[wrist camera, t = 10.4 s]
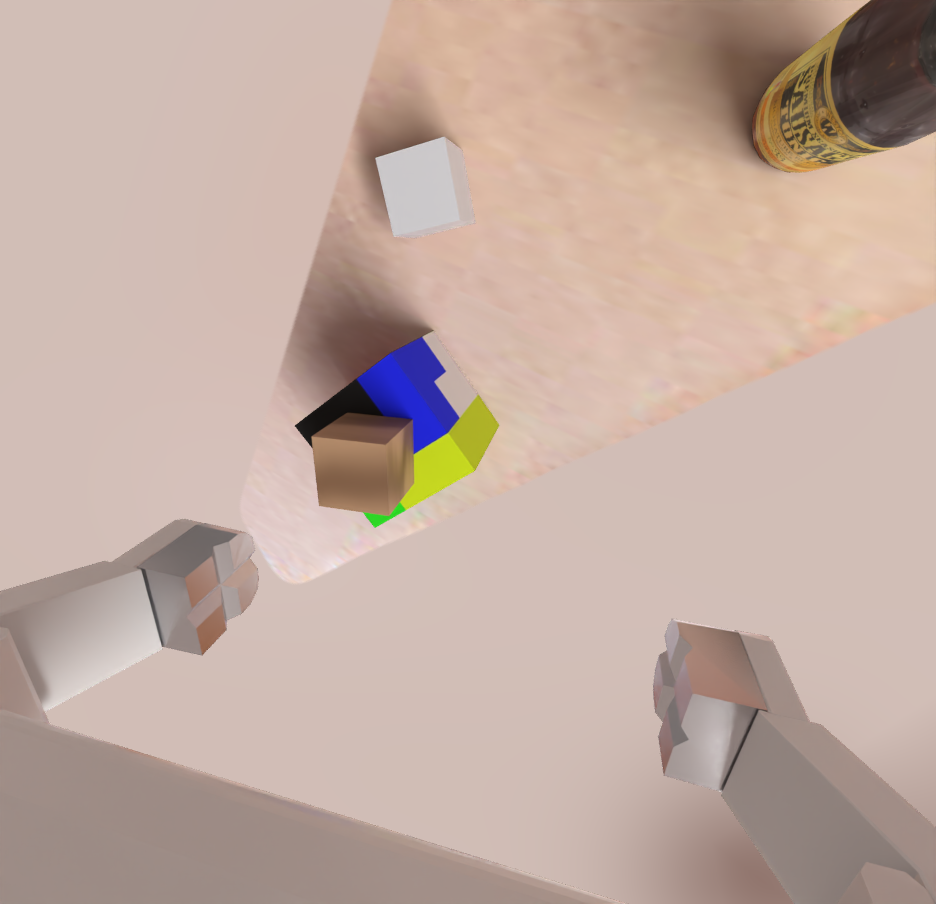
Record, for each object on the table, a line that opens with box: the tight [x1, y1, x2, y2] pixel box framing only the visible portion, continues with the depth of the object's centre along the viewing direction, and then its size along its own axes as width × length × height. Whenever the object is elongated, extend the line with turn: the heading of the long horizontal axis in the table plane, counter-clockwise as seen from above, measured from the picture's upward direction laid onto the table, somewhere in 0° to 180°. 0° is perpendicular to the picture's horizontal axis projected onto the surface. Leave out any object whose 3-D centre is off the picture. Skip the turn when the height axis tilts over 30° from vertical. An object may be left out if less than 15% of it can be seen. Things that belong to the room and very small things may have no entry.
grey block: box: [375, 137, 476, 238], centre depth 35 cm, size 5×5×5 cm
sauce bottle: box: [752, 0, 936, 173], centre depth 22 cm, size 6×6×20 cm
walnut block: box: [311, 413, 414, 516], centre depth 33 cm, size 5×5×5 cm
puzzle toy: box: [295, 331, 499, 528], centre depth 40 cm, size 10×10×10 cm
